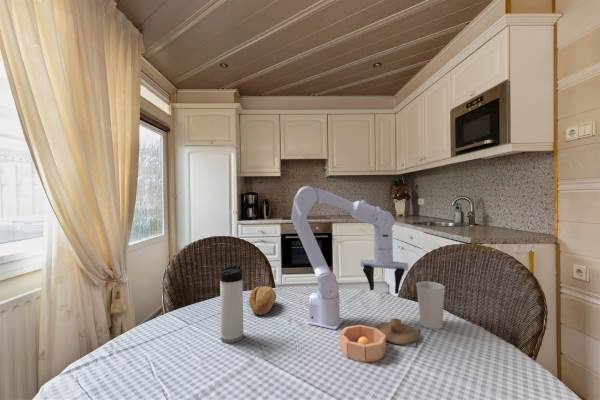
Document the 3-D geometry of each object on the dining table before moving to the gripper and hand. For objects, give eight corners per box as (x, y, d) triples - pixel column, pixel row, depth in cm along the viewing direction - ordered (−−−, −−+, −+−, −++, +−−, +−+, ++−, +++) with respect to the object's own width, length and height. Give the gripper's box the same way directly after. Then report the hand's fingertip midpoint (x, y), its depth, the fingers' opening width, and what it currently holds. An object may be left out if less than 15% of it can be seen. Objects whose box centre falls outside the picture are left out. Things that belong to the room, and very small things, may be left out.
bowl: (334, 355, 68) (334, 339, 68) (348, 335, 78) (348, 322, 78) (379, 366, 63) (379, 350, 63) (388, 344, 72) (388, 330, 72)
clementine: (356, 350, 69) (356, 338, 69) (359, 345, 71) (359, 333, 72) (368, 353, 67) (368, 341, 67) (371, 347, 70) (370, 336, 70)
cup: (449, 330, 79) (448, 289, 80) (420, 328, 81) (419, 288, 81) (441, 319, 87) (440, 282, 87) (414, 317, 89) (413, 281, 89)
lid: (369, 337, 76) (369, 324, 76) (380, 321, 86) (380, 309, 86) (415, 348, 69) (415, 334, 69) (421, 329, 80) (421, 317, 80)
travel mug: (248, 334, 80) (247, 266, 80) (234, 345, 74) (233, 271, 74) (231, 330, 82) (230, 264, 83) (216, 340, 76) (215, 269, 77)
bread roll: (245, 318, 92) (244, 294, 92) (253, 302, 107) (253, 281, 107) (273, 317, 91) (272, 293, 91) (278, 301, 106) (277, 281, 106)
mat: (372, 338, 76) (372, 337, 76) (381, 323, 85) (381, 321, 85) (415, 347, 71) (415, 346, 71) (419, 330, 80) (419, 328, 80)
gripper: (357, 248, 86) (358, 291, 86) (405, 251, 79) (407, 298, 79) (363, 245, 92) (364, 285, 92) (408, 248, 86) (409, 291, 85)
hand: (384, 291), depth 86 cm, fingers open, 7 cm apart
